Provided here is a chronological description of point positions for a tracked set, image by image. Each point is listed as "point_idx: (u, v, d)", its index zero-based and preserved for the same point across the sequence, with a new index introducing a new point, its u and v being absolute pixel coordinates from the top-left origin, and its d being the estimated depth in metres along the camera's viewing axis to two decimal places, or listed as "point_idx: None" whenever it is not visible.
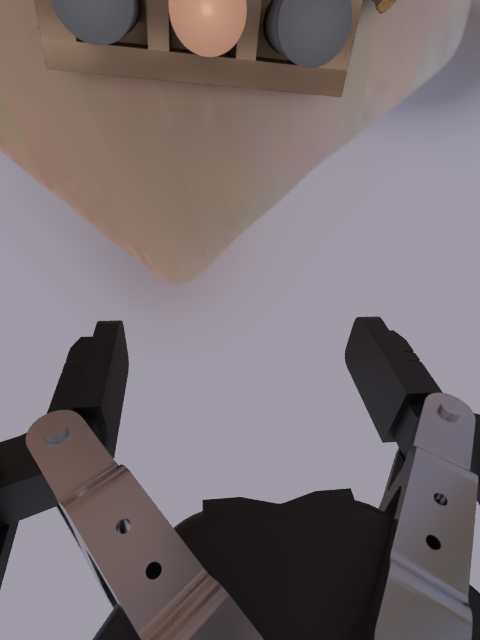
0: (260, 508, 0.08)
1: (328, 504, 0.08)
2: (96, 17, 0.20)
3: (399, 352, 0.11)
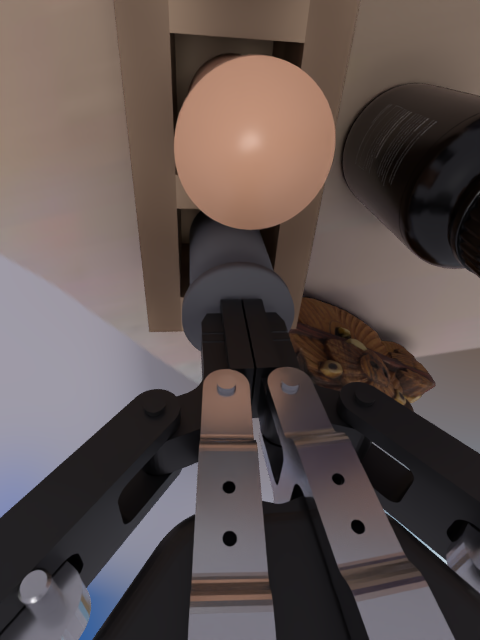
0: None
1: None
2: None
3: (266, 331, 0.12)
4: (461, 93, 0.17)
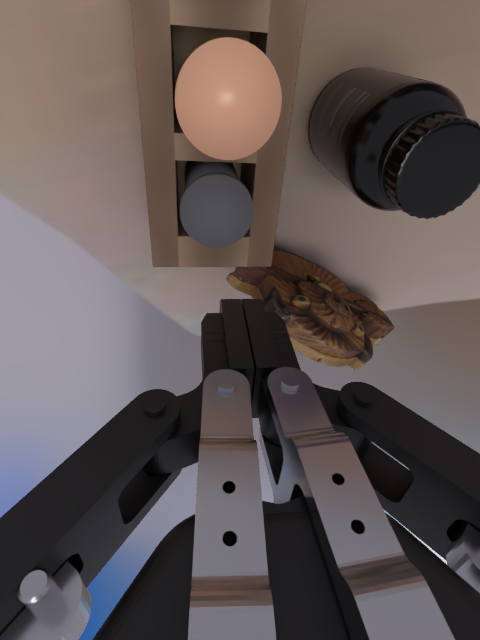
0: None
1: None
2: None
3: (266, 331, 0.12)
4: (393, 74, 0.22)
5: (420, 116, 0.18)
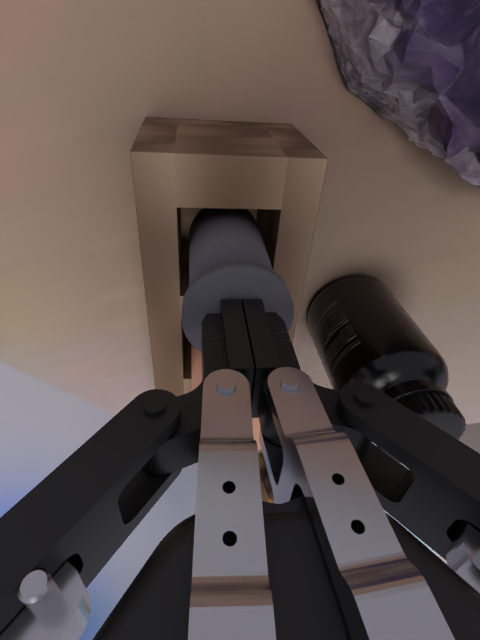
0: None
1: None
2: None
3: (266, 331, 0.12)
4: (381, 310, 0.24)
5: (402, 393, 0.20)
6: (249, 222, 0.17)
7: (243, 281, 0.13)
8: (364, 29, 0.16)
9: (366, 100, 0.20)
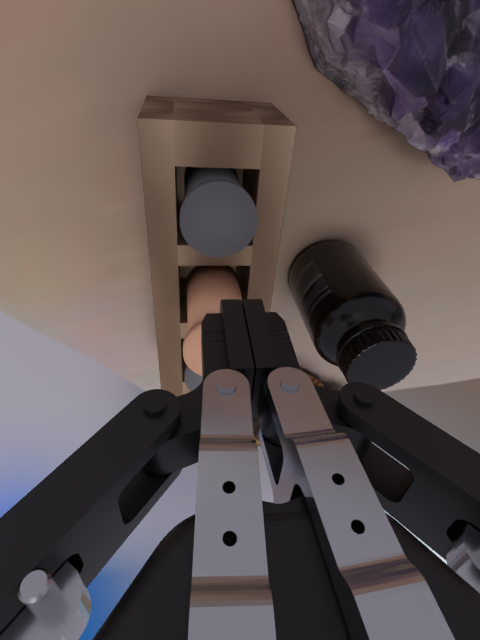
0: None
1: None
2: (202, 224, 0.20)
3: (266, 331, 0.12)
4: (350, 265, 0.28)
5: (363, 328, 0.24)
6: None
7: (221, 192, 0.19)
8: (325, 16, 0.19)
9: (332, 78, 0.24)
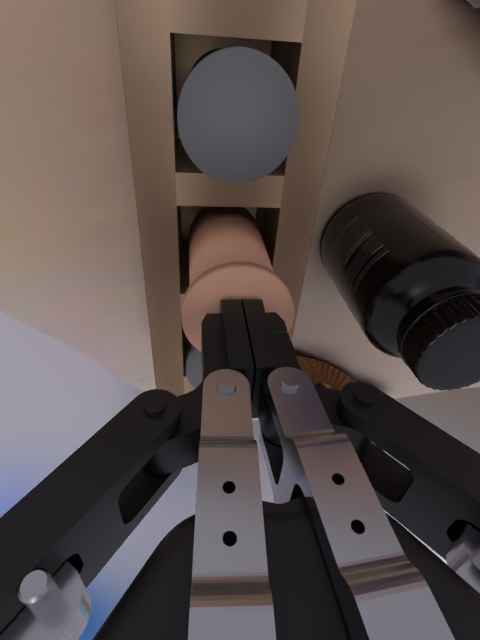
0: None
1: None
2: (213, 125, 0.13)
3: (266, 331, 0.12)
4: (411, 219, 0.21)
5: (443, 298, 0.17)
6: None
7: (244, 64, 0.12)
8: None
9: None
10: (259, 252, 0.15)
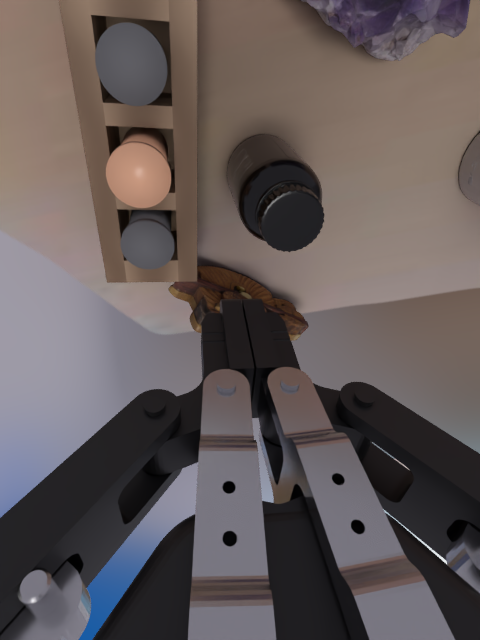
0: None
1: None
2: (116, 68, 0.23)
3: (266, 331, 0.12)
4: (273, 146, 0.31)
5: (275, 185, 0.27)
6: None
7: (130, 32, 0.22)
8: None
9: None
10: (154, 144, 0.26)
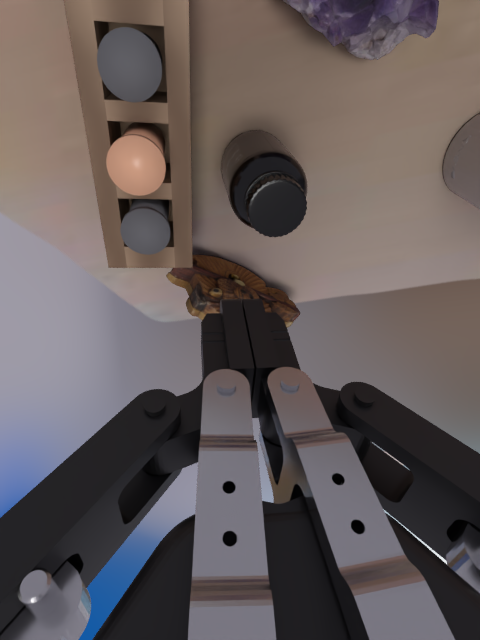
0: None
1: None
2: (116, 68, 0.25)
3: (266, 331, 0.12)
4: (263, 140, 0.33)
5: (261, 175, 0.29)
6: (149, 37, 0.29)
7: (128, 36, 0.24)
8: None
9: None
10: (151, 138, 0.29)
